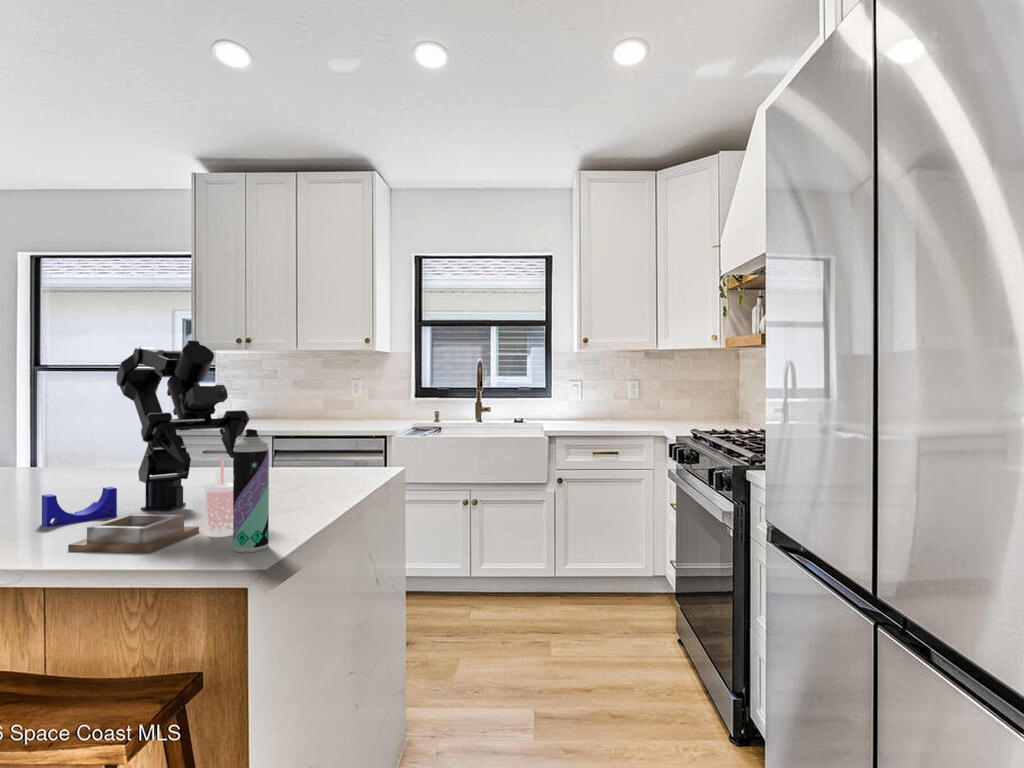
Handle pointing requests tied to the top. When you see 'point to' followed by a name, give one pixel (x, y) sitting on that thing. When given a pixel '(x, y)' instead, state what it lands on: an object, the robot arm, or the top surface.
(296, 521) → the top surface
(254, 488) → the spray can
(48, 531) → the top surface
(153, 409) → the robot arm
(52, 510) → the blue curved cradle bracket
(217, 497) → the beverage cup
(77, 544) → the cup holder board
